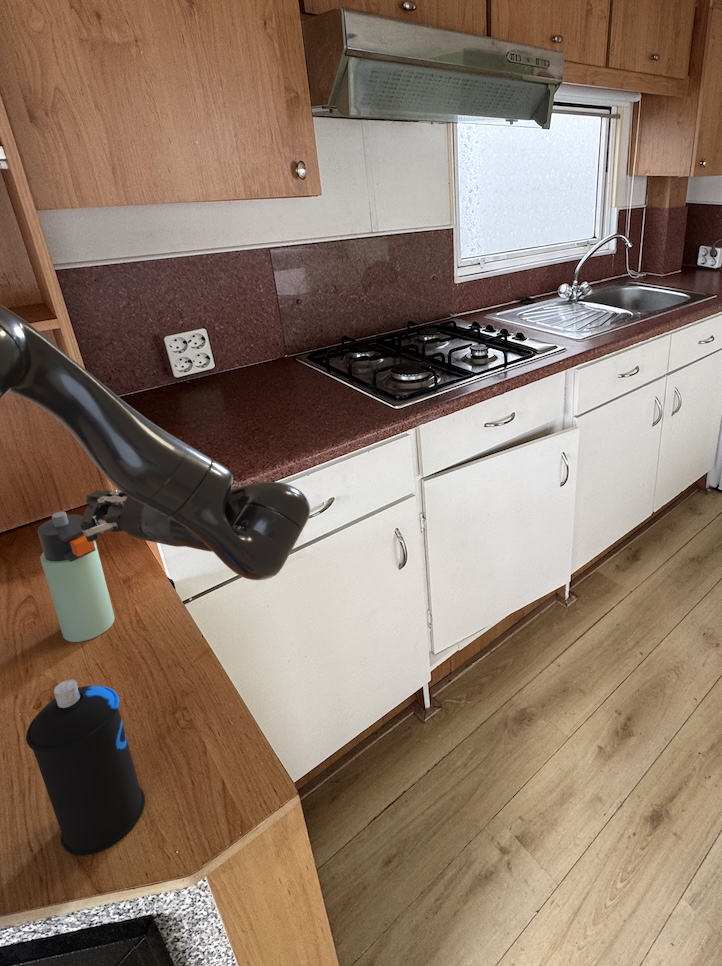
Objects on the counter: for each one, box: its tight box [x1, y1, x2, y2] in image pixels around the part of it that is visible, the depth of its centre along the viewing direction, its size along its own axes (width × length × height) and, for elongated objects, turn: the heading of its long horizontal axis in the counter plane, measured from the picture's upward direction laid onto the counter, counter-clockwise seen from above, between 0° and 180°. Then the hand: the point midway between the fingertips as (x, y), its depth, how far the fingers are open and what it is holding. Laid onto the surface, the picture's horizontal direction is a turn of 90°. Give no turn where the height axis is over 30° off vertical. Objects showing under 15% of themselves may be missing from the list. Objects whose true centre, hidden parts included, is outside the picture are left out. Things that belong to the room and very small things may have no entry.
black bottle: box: [25, 679, 146, 856], centre depth 64 cm, size 8×8×20 cm
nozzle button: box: [70, 535, 95, 557], centre depth 88 cm, size 2×2×2 cm
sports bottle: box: [37, 511, 116, 643], centre depth 93 cm, size 8×7×22 cm
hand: (93, 499), depth 80 cm, fingers closed
